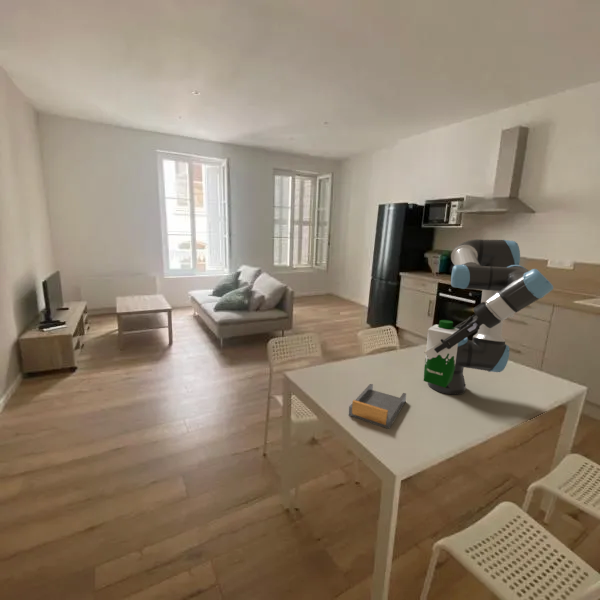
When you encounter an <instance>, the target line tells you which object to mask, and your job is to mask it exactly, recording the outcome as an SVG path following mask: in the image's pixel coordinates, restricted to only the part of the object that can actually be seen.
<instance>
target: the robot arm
mask: <svg viewBox="0 0 600 600" xmlns="http://www.w3.org/2000/svg"><path fill="white" fill-rule="evenodd" d="M450 260H451V262H452V264H453V266H452V268H451V269H452V270H451V277H450V285H451V287H452V288H458V289H461V290H465V289H466V290H477V291H479V290H481V291H482V292H481V300H480V303H479V304H477V305H476V306H475V307H473V308H472V309H473V313H474V314H473V315H472V316H471V315H470V316H469V317H468V318H467V319H465V320H464V321H462V322H460V323H458V324H457V325H455V326H453V327H454V328H457V329H459V330H457V331H456V332H455V333H453V334H452V335H451V336H449V337H448V338H446V339H445V340H443V339H441V340H440V341H441V342H439V343H438V344H436V345H434V346H433V347H431V348H430V349H428V350H427V351H426V350H425V351H424V354H425V356H426V355H427V356H428V357H429V359H431V358H433V357H435V356H436V355H438V354H439V353H441V352H443V351H444V350H446V349H450V348H451V347H453V346H454V345H456V344H457V343H458V347H457V355H456V363H455V370H454V374H453V378H452V381H451V382H450V383H449V384H448V385H447V386H446V388H445V387H442V386H438V385H435V384H432V383H428V382H427V385H428V387H429V388H431V389H432V390H434V391H437V392H439V393H440V394H441V393H442V394H445V395H453V396H455V395H462V394H464V393H465V392H466V389H467V388H466V387H467V386H466V382H465V381H466V380H465V377H464V368H466V369H471V370H480V371H486V372H488V373H490V372H493V373H501V372H503V371H504V370H505V368H506V367H507V364H508V362H509V358H510V346H509V345H507V344H506V339H504V337H503V335H502V334H503V326H504V321H505V320H506V319H508V318H514V317H515V315H514V314H516V313H518V312H519V311H522V310H524V308H527V307H528V306H530V305H531V304H533V303H535V302H536V301H538V300H540V299H542V298H544V297H545V296H546V295H548V294H549V293H550V292H552V291H553V290H554V285H553V284H552V282H551V281H550V280H548V278H546V276H545V275H543V273H541V272H540V271H539V269H537V268H531V269H530V270H529V269H527V268H525V267H524V266H522V265H520V263H521V250H520V246H519V244H518V242H517V241H515V240H506V239H469V240H466V241H462V242H461V243H459V244H457V245H456V246H454V248H453V249H452V251H451V254H450ZM474 333H475V334H474ZM472 334H474V335H473V336H472V340H470V339H469V338H468V337H469V336H471V335H472Z"/></svg>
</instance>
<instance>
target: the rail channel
mask: <svg viewBox="0 0 600 600" xmlns="http://www.w3.org/2000/svg"><path fill="white" fill-rule="evenodd" d="M373 388H374V384H373V383H370V384H368V385H367V387H366V388H365V389H364V390H363V391H362V392H361V393H360V394H359V395H358V396H357V398H355V399H353V400H352V403H350V405H349V406H348V416H349V417H353V418H355V419H358V420H362V421H363V422H364V421H365V422H367V423H370V424H373V425H376V426H380V427H382V428H385V429H388V430H390V428H391V427H392V425H393V423H394V422H395V420H396V418H397V417H398V415H399V413H400V412H401V410H402V408H403V407H404V405H405V403H406V400H407V393H406V392H403V393H401V395H400V397H399V396H397V395H392V394H389V393H385V392H381V391H378V390H374V389H373Z"/></svg>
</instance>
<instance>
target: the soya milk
mask: <svg viewBox="0 0 600 600" xmlns="http://www.w3.org/2000/svg"><path fill="white" fill-rule="evenodd" d="M454 327H455V326H454V322H453V321H452V320H449V319H441V320H439V323H438V324H433V325H432V326H429V328H428V329H427V339H426V340H427V341H426V347H425V348H426V350H425V351H427V350H428V349H430V348H431V347H433V346H434V345H436V344H438V343H439V342H441V341H440V340H441V339H443V340H445V339H446V338H448V337H449V336H451V335H452V334H453V333H455V332H456V331H457V330H459V329H457V328H454ZM457 347H458V343H457V344H456V345H454V346H453V347H451V348H450V349H446V350H444V351H443V352H441V353H439V354H438V355H436V356H435V357H433V358H431V359H429V357H428V356H427V355H426V354H425V356H424V357H425V358H424V366H423V367H424V368H423V382H426V383H427V384H428V383H432V384H435V385H438V386H442V387H445V388H446V386H447V385H448V384H449V383H450V382H451V381H452V378H453V374H454V370H455V363H456V355H457Z"/></svg>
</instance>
